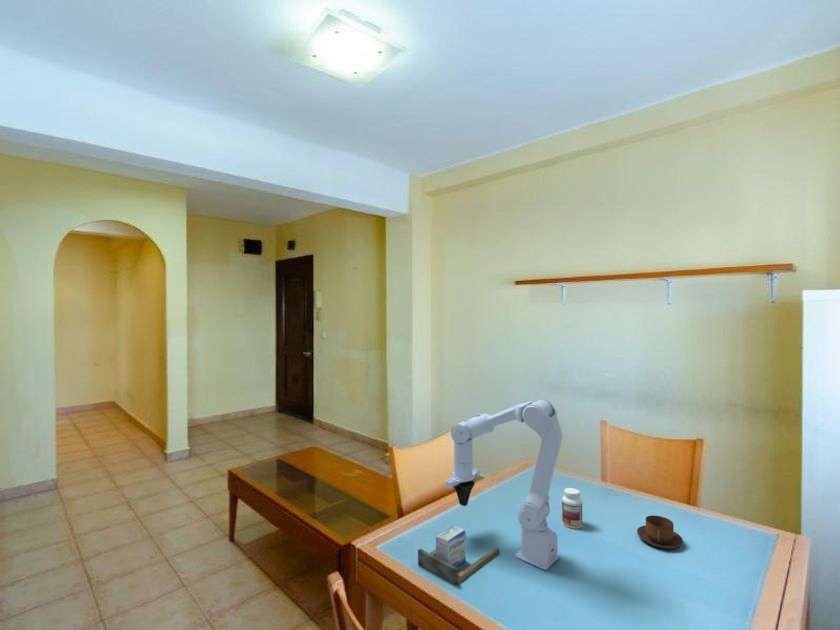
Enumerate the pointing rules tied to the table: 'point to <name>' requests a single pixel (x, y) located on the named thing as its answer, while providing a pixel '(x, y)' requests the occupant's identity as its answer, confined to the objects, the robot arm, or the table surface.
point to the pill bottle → (572, 508)
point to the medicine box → (451, 546)
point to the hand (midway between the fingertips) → (463, 504)
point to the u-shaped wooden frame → (448, 570)
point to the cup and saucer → (660, 533)
